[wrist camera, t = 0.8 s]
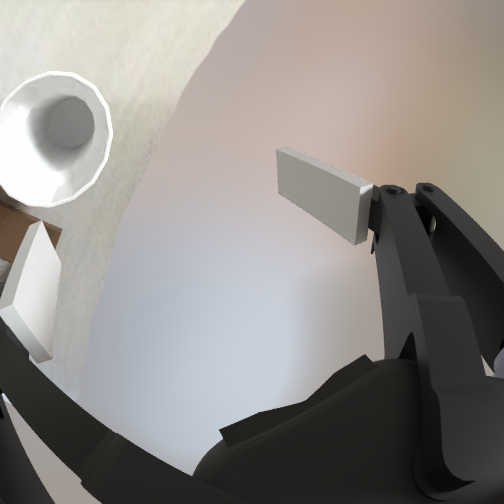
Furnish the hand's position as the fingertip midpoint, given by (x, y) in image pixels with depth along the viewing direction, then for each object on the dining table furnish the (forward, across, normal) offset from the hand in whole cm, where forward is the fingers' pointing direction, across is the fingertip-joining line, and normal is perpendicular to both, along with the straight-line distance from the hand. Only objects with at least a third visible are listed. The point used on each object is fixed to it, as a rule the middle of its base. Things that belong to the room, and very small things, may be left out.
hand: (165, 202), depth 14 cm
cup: (+28, -8, +4) cm, 29 cm away
